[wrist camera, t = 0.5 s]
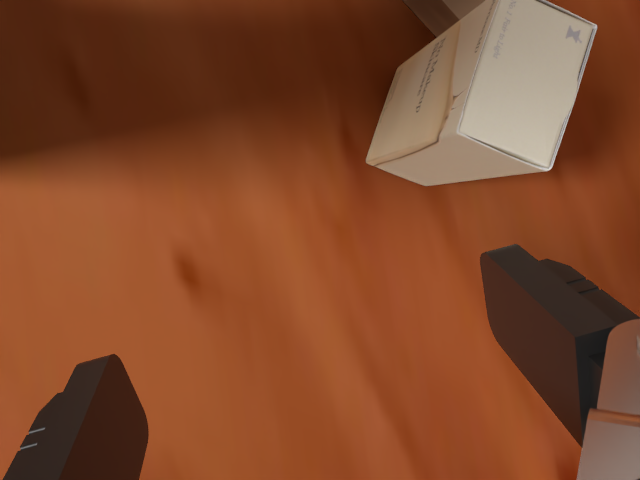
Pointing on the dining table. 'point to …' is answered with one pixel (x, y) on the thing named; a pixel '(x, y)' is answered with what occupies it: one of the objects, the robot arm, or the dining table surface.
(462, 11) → the wooden compartment tray
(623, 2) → the dining table surface
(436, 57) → the skincare box
